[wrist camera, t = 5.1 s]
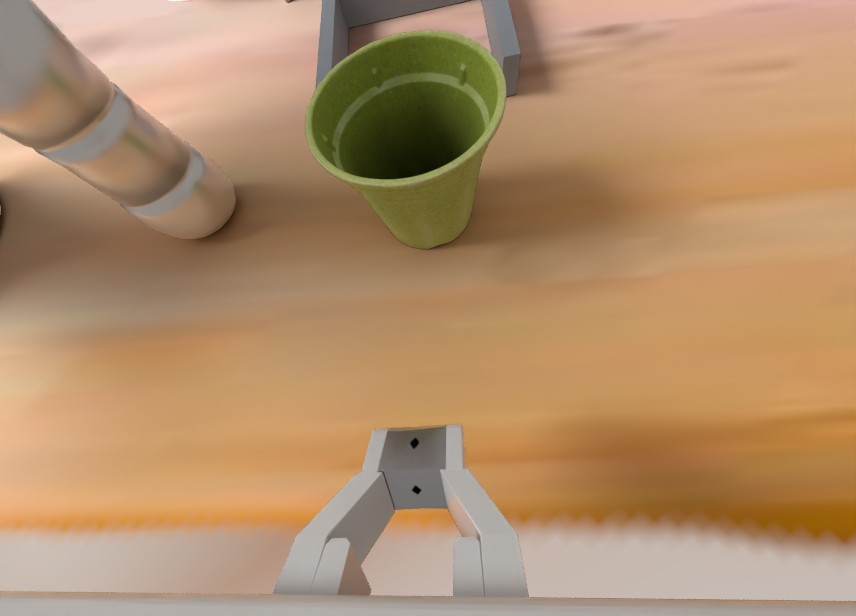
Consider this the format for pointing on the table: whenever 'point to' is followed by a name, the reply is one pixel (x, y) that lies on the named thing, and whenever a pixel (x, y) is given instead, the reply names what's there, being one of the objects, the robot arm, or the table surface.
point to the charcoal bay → (366, 3)
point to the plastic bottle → (102, 130)
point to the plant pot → (410, 129)
